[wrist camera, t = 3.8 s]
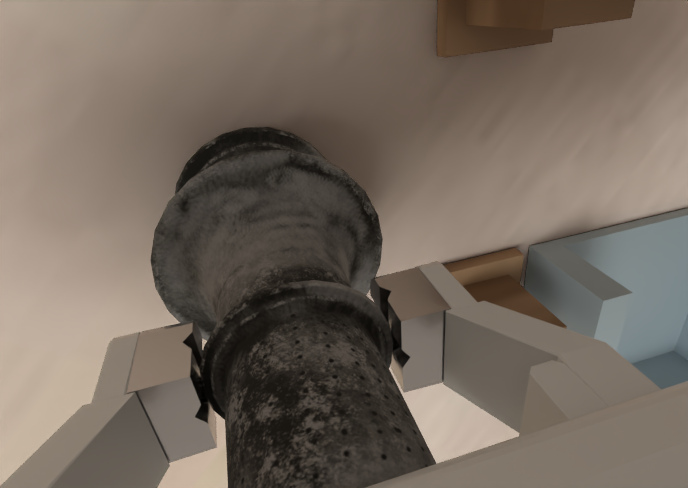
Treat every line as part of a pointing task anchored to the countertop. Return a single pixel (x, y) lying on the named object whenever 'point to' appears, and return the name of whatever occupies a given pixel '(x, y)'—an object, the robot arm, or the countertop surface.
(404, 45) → the countertop surface
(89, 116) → the countertop surface
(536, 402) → the robot arm
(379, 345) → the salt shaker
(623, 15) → the pair of brown posts
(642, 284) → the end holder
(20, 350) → the countertop surface
